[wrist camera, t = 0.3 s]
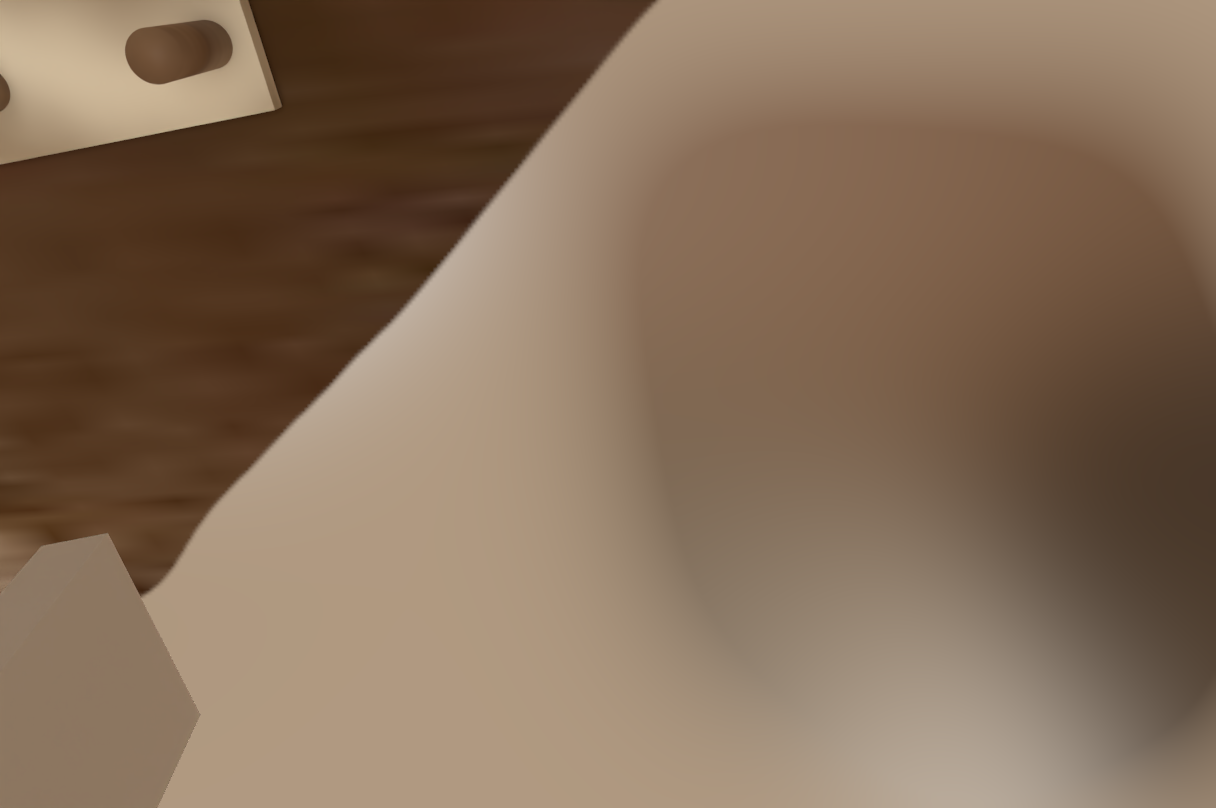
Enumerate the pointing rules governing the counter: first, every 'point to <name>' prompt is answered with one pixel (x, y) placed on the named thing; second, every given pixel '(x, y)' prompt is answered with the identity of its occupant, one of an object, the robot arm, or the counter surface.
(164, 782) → the robot arm
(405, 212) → the counter surface
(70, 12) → the rack
